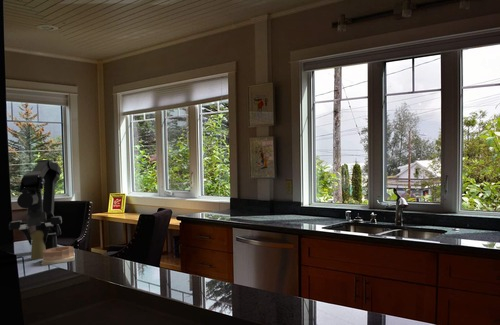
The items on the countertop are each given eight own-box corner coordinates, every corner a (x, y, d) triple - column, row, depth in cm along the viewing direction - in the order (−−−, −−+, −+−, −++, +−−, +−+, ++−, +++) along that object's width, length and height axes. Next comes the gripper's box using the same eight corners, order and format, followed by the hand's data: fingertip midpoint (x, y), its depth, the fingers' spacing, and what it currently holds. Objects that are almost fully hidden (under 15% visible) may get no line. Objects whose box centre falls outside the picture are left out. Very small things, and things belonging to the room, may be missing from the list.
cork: (42, 259, 169) (40, 231, 168) (27, 260, 169) (25, 232, 169) (50, 255, 175) (48, 228, 175) (35, 256, 175) (33, 229, 175)
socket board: (44, 259, 167) (43, 248, 167) (75, 255, 171) (74, 244, 171) (42, 265, 157) (41, 254, 157) (74, 260, 161) (73, 249, 161)
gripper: (4, 210, 161) (8, 251, 161) (58, 204, 167) (62, 244, 167) (9, 207, 171) (13, 246, 171) (60, 202, 178) (63, 239, 178)
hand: (38, 244), depth 172 cm, fingers closed on cork, 5 cm apart
